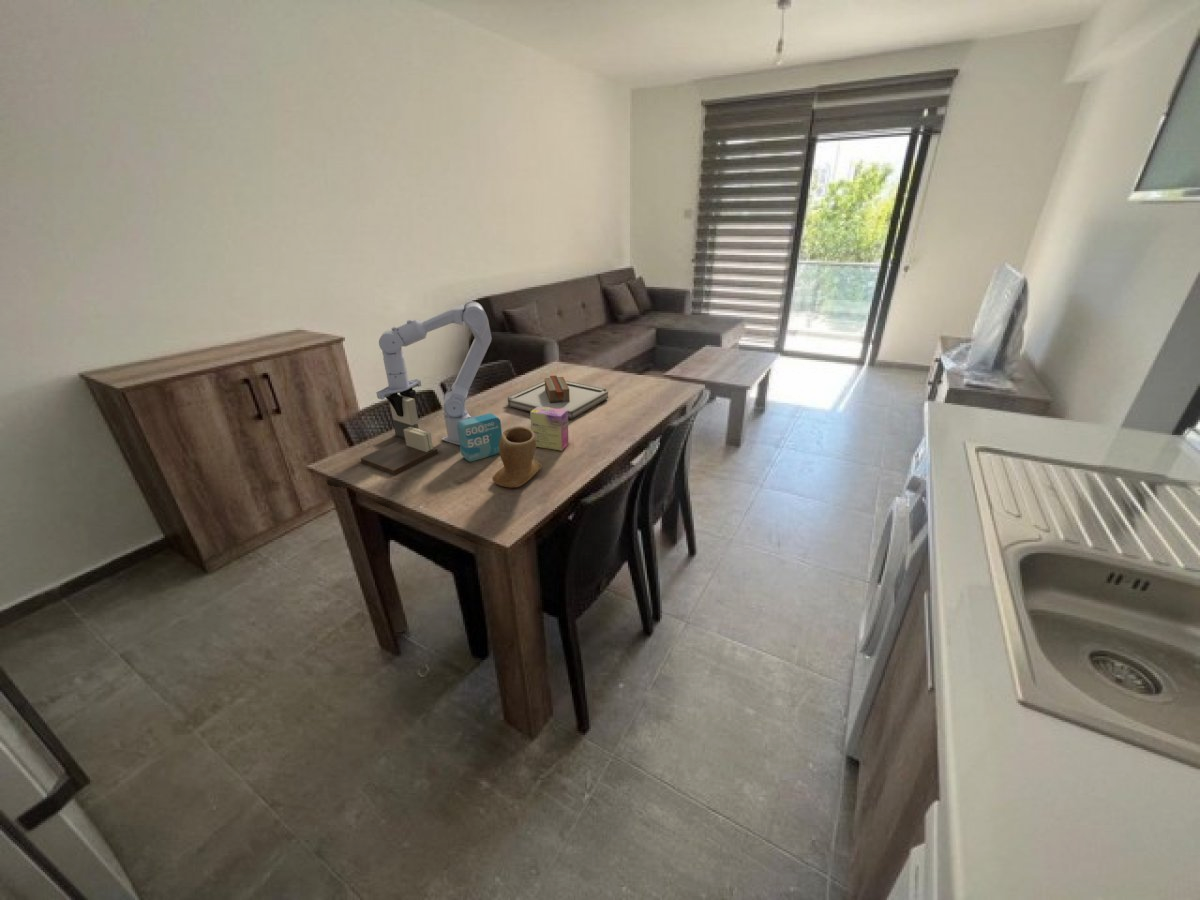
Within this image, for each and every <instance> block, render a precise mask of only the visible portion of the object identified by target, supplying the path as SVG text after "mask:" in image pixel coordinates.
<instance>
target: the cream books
mask: <svg viewBox="0 0 1200 900" xmlns="http://www.w3.org/2000/svg"><path fill="white" fill-rule="evenodd" d="M403 431H404V435H405V440H406V445H407V446H409V447H412V448H415V449H419V450H422V451H425V452H428V451H429V450H432V449H433V448H434V446H433V440H432V435H431V432H429V431H426V430H423V429H420V428H419V429H417V428H413V427H408V428H406V429H404V430H403Z"/></svg>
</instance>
